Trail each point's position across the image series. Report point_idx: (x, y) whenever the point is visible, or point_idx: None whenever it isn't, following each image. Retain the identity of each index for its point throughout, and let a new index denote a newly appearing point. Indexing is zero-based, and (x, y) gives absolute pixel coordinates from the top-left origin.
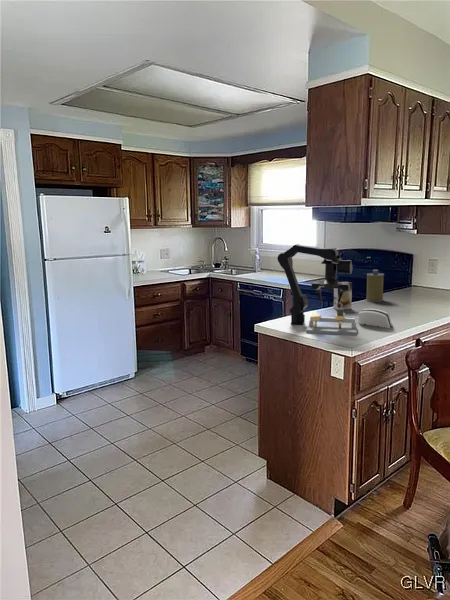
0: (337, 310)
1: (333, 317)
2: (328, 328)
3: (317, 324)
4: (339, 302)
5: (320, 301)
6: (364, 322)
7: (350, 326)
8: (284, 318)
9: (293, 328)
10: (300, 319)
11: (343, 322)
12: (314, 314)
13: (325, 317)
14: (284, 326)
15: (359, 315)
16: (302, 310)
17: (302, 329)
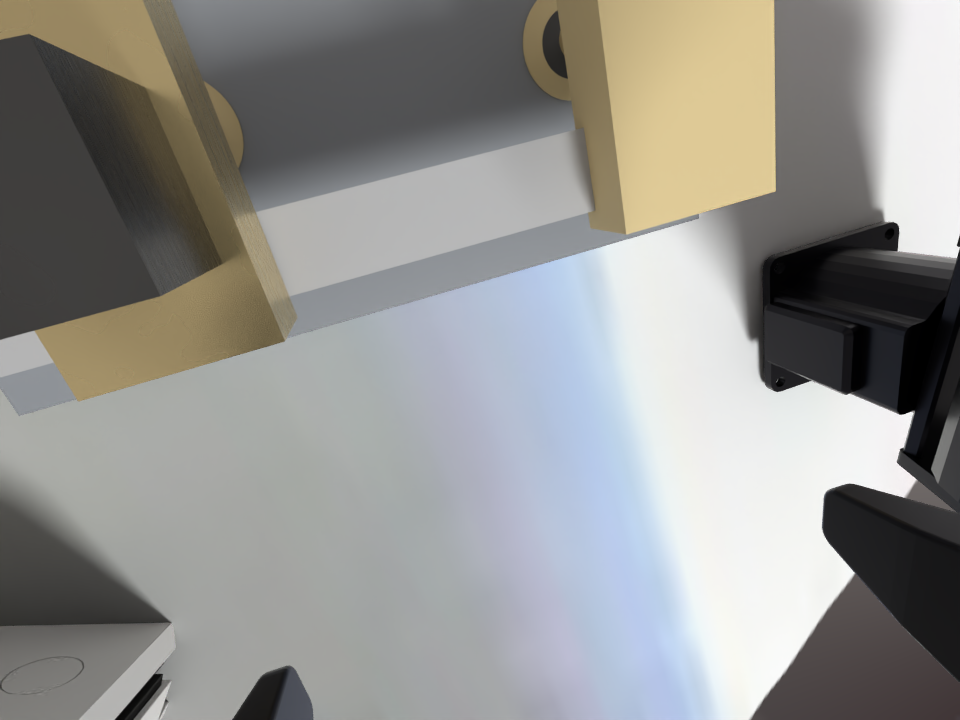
0: (39, 46)
1: (348, 271)
2: (363, 59)
3: (591, 238)
4: (258, 713)
5: (863, 495)
6: (62, 641)
7: None
8: None
9: (839, 46)
10: (841, 287)
11: None
12: (734, 119)
13: (496, 204)
14: (943, 104)
15: (76, 708)
16: (931, 414)
17: None
